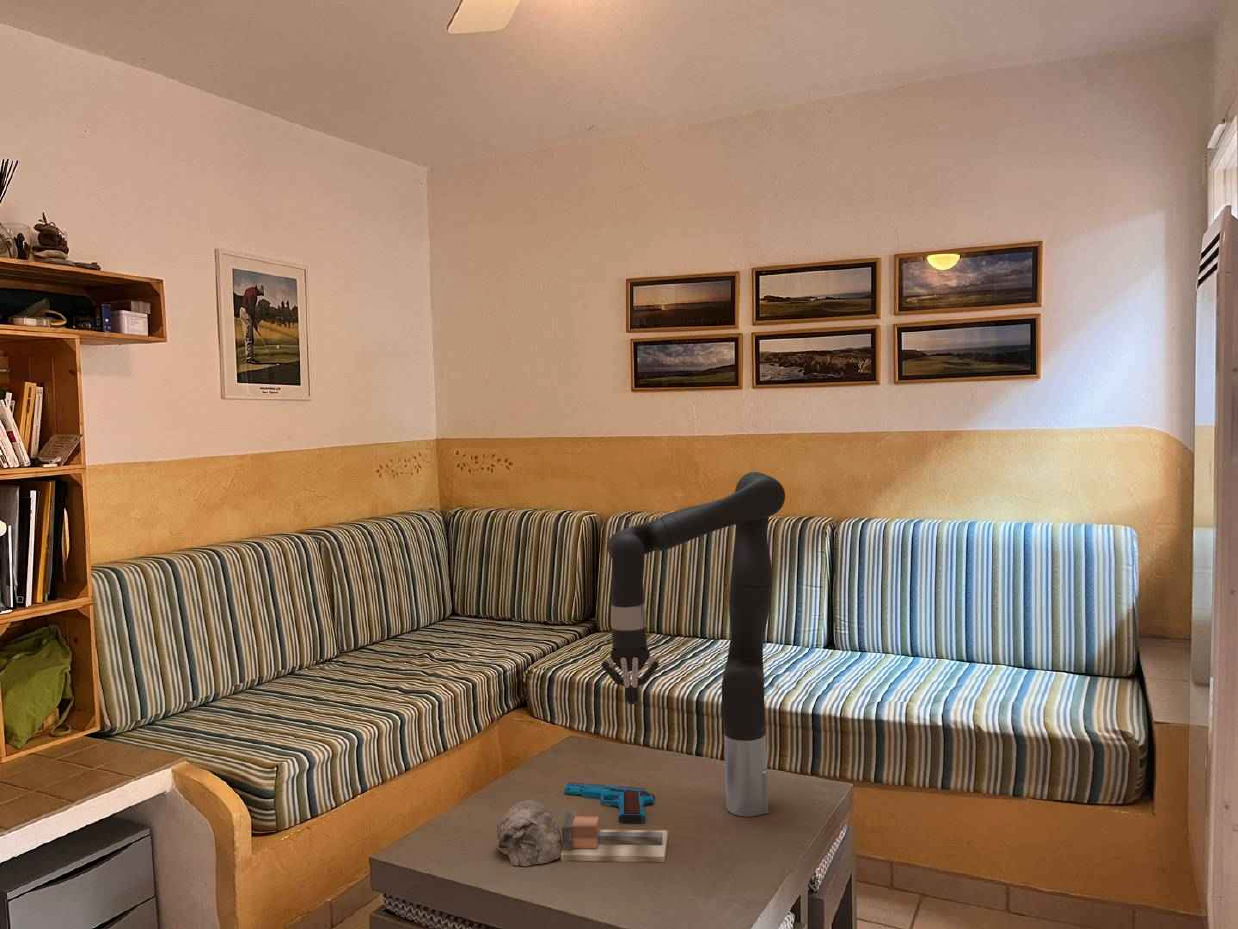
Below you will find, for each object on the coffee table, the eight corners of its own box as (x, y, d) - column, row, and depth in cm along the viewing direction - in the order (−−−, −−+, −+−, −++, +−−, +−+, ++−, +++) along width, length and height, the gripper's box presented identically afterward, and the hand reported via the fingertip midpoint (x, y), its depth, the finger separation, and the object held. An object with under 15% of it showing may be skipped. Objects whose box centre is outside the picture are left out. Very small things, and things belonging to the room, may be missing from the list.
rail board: (667, 836, 200) (666, 808, 199) (664, 862, 189) (663, 833, 188) (569, 834, 202) (568, 807, 201) (561, 860, 191) (559, 832, 191)
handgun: (644, 828, 205) (662, 797, 219) (643, 815, 204) (661, 785, 218) (546, 819, 212) (570, 790, 226) (545, 807, 211) (569, 779, 226)
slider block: (600, 834, 198) (599, 813, 198) (597, 848, 193) (596, 826, 192) (577, 834, 199) (576, 813, 199) (572, 848, 193) (571, 826, 193)
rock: (575, 847, 197) (573, 801, 196) (544, 875, 186) (541, 826, 185) (516, 833, 204) (513, 789, 203) (482, 859, 193) (480, 812, 192)
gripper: (660, 619, 205) (663, 697, 206) (600, 620, 206) (604, 697, 208) (658, 628, 198) (661, 709, 199) (595, 629, 199) (599, 709, 201)
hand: (632, 703), depth 203 cm, fingers closed
